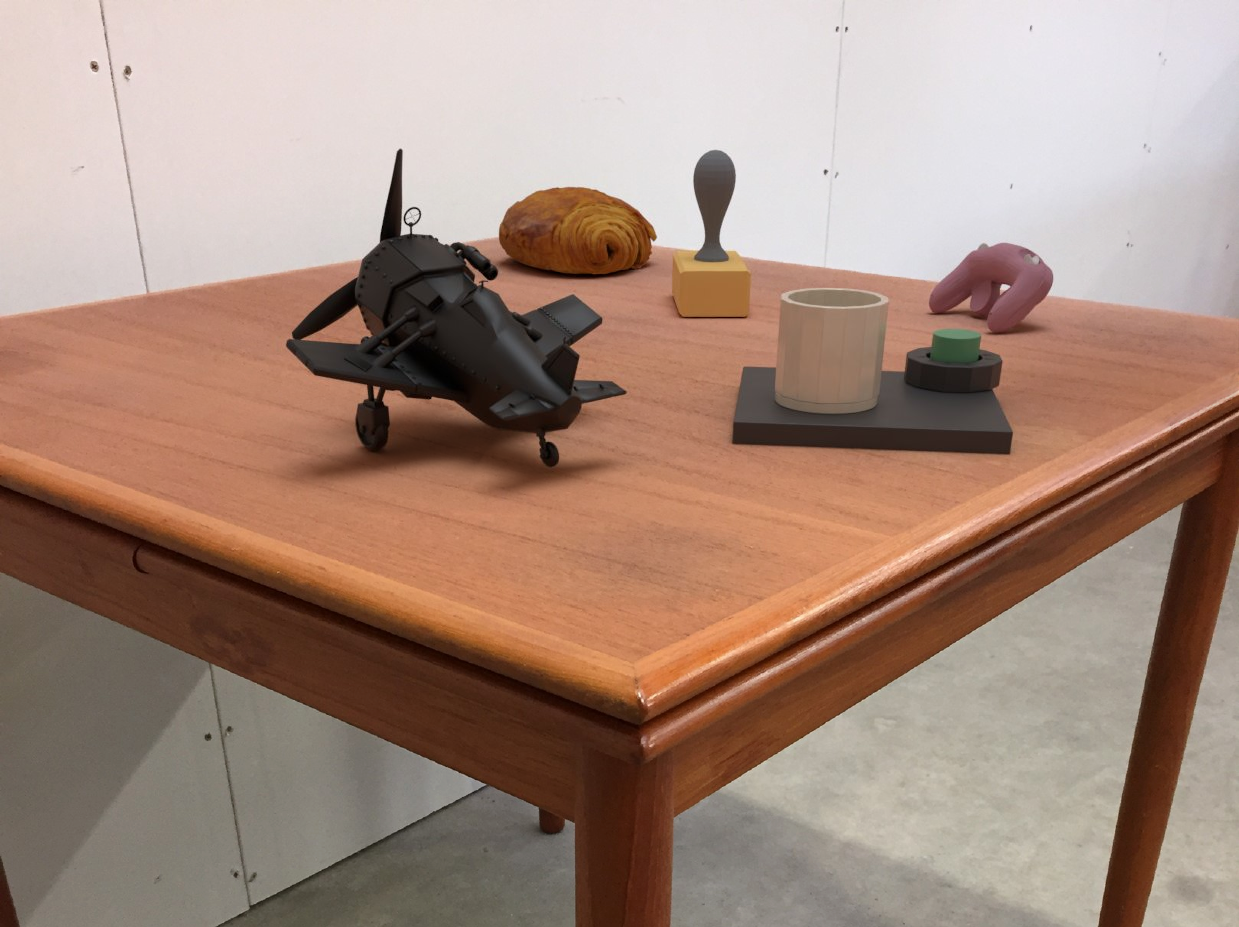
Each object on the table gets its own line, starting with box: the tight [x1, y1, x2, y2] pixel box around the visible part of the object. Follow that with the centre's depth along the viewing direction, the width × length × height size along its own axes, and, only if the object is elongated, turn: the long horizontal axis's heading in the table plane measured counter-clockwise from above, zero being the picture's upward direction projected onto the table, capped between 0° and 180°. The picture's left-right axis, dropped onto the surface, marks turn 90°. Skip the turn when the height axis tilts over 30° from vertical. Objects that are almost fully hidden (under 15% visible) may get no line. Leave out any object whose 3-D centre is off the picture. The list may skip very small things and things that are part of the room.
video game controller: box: [928, 242, 1054, 334], centre depth 109 cm, size 10×5×7 cm, turn 22°
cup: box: [774, 287, 890, 414], centre depth 81 cm, size 6×6×6 cm
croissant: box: [498, 186, 658, 275], centre depth 130 cm, size 14×16×8 cm
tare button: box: [930, 328, 982, 363], centre depth 85 cm, size 3×3×2 cm
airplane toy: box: [285, 148, 628, 468], centre depth 75 cm, size 20×19×15 cm
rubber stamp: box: [671, 149, 752, 318], centre depth 112 cm, size 10×6×12 cm, turn 2°
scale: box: [731, 346, 1014, 455], centre depth 83 cm, size 16×14×3 cm
